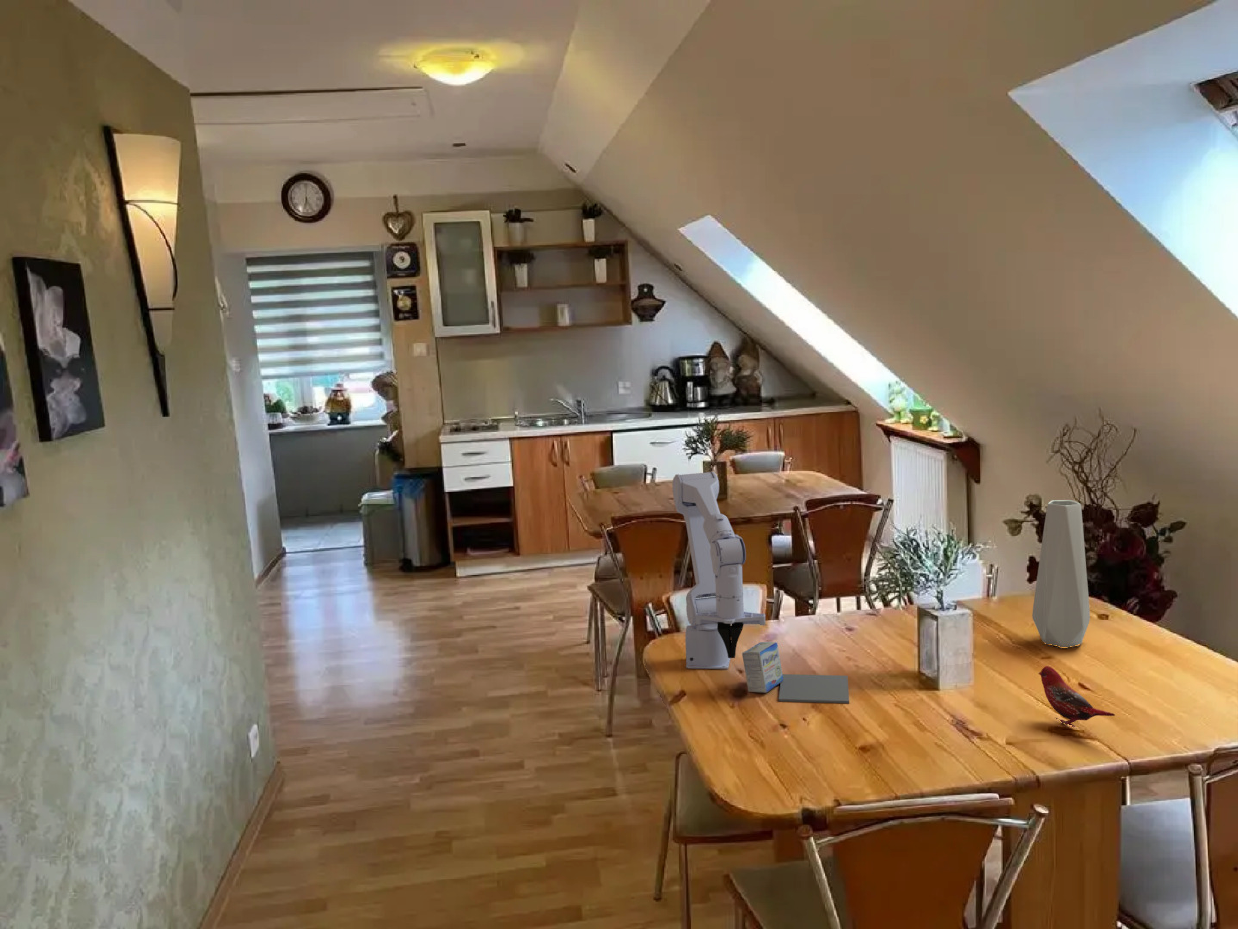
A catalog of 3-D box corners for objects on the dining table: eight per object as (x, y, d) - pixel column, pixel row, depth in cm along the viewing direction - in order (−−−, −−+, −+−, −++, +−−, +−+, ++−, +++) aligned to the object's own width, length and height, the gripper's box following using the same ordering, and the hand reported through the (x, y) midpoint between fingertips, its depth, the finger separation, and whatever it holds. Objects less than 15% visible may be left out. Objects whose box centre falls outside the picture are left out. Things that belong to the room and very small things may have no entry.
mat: (778, 701, 196) (778, 699, 196) (781, 676, 210) (781, 674, 210) (849, 703, 193) (849, 701, 193) (847, 677, 207) (847, 675, 207)
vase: (1038, 631, 229) (1039, 496, 225) (1091, 639, 223) (1094, 499, 218) (1025, 647, 220) (1026, 505, 215) (1081, 655, 213) (1083, 509, 208)
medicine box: (766, 693, 199) (759, 652, 199) (747, 692, 202) (741, 652, 202) (784, 681, 205) (777, 641, 205) (765, 680, 208) (759, 641, 208)
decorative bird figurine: (1044, 710, 185) (1044, 661, 184) (1120, 746, 169) (1121, 692, 167) (1032, 713, 184) (1032, 663, 183) (1108, 750, 168) (1109, 695, 166)
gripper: (692, 599, 200) (695, 662, 202) (763, 600, 197) (765, 663, 199) (696, 590, 207) (699, 651, 209) (764, 590, 204) (767, 652, 206)
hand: (731, 656), depth 204 cm, fingers closed
